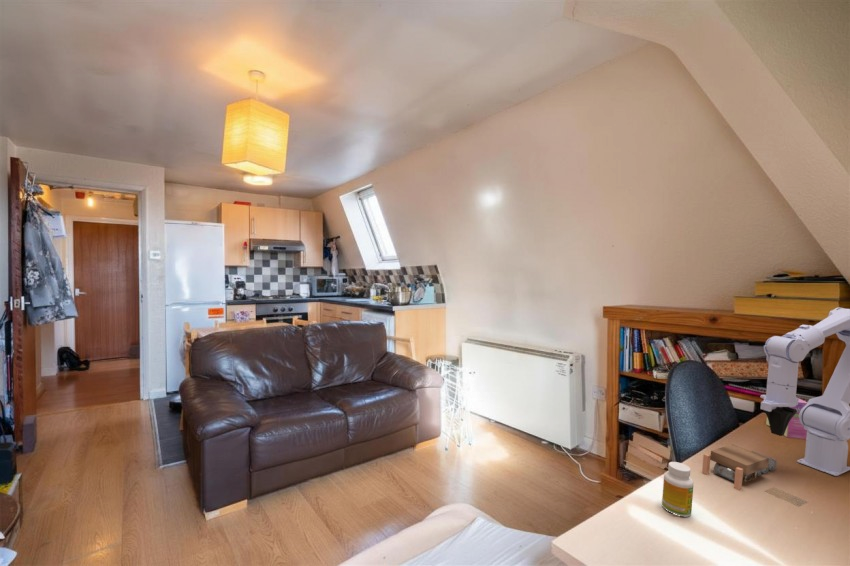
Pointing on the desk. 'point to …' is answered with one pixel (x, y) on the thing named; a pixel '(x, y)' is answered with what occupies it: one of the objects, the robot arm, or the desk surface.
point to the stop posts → (737, 472)
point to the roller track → (772, 463)
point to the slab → (739, 459)
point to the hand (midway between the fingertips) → (777, 434)
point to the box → (795, 423)
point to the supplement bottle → (678, 489)
